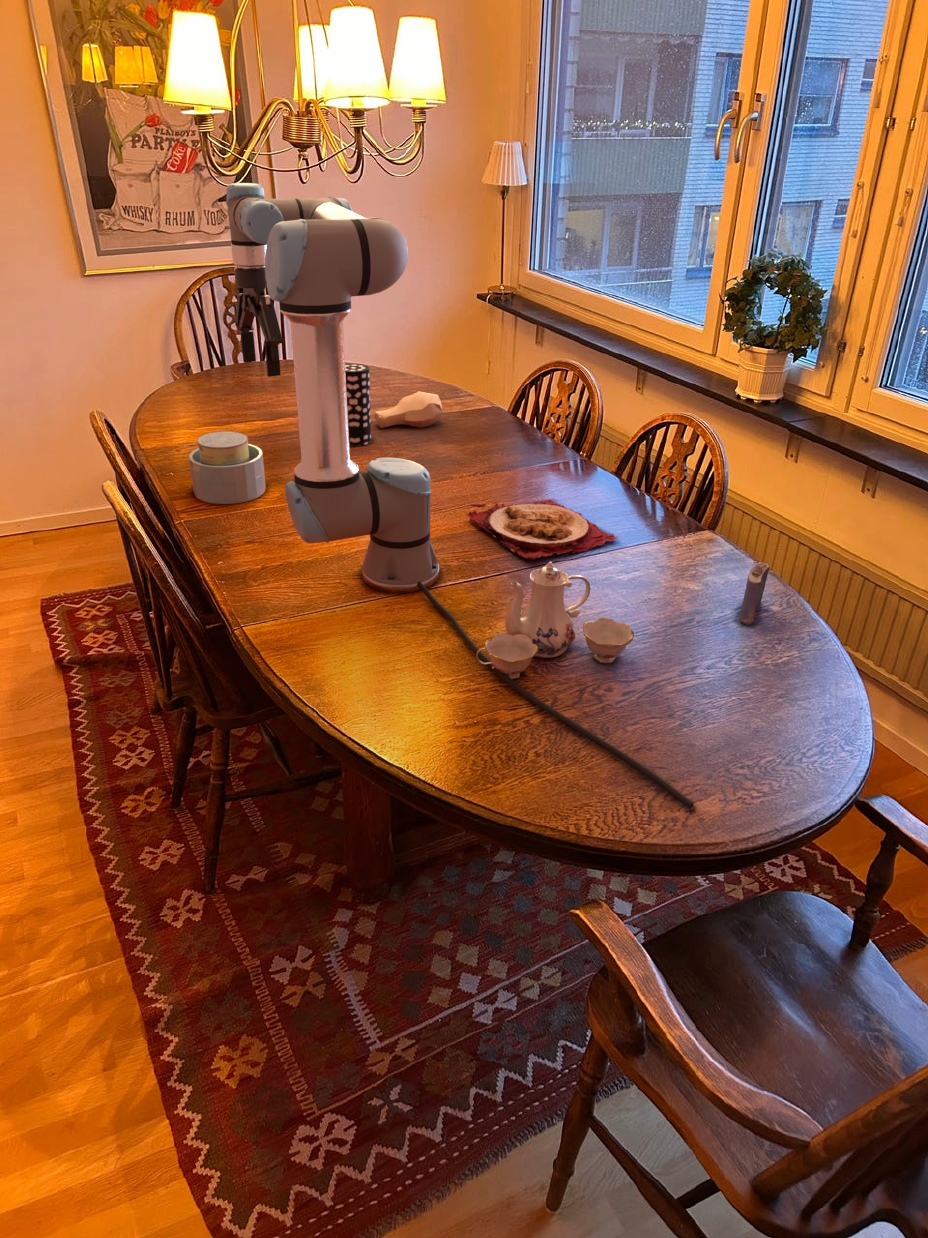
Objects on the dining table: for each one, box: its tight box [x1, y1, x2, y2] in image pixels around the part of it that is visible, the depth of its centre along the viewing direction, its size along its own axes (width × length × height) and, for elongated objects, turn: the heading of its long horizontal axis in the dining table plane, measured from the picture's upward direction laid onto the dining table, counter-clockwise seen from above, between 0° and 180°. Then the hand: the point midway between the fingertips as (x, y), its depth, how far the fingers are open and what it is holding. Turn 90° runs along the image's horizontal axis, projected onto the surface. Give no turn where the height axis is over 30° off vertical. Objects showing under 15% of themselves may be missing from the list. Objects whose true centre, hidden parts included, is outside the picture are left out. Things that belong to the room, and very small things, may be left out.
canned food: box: [197, 430, 250, 466], centre depth 205 cm, size 11×11×12 cm
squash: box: [374, 390, 443, 429], centre depth 251 cm, size 11×20×9 cm, turn 112°
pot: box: [188, 443, 267, 505], centre depth 206 cm, size 17×17×9 cm
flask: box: [738, 560, 771, 626], centre depth 161 cm, size 9×3×11 cm, turn 151°
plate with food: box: [464, 498, 619, 560], centre depth 192 cm, size 24×26×3 cm
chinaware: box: [475, 561, 635, 680], centre depth 146 cm, size 28×17×17 cm, turn 114°
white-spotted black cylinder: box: [345, 363, 372, 447], centre depth 235 cm, size 8×8×20 cm
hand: (261, 368), depth 193 cm, fingers open, 13 cm apart
